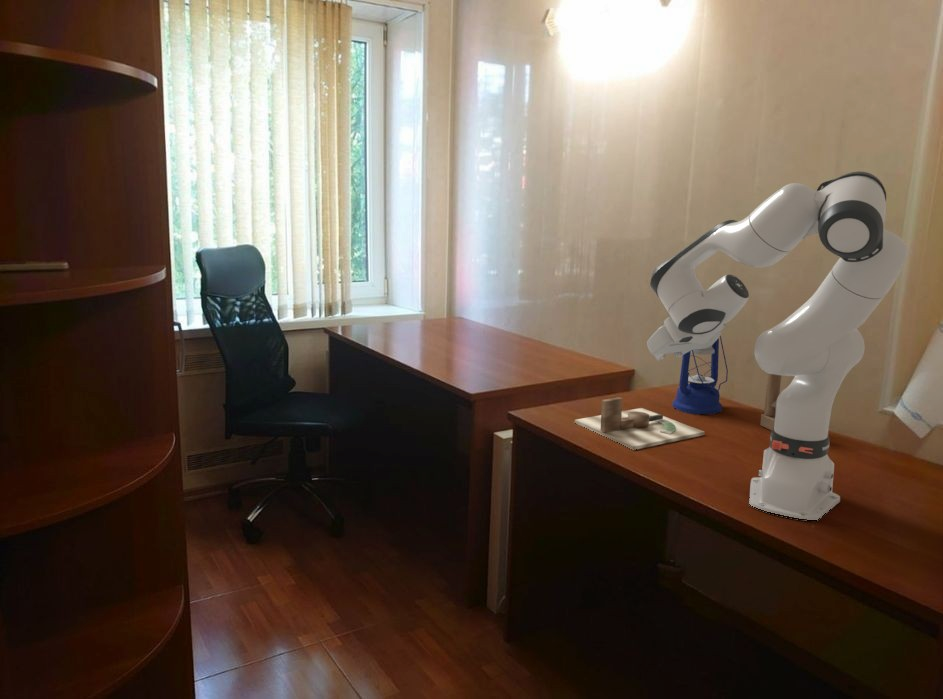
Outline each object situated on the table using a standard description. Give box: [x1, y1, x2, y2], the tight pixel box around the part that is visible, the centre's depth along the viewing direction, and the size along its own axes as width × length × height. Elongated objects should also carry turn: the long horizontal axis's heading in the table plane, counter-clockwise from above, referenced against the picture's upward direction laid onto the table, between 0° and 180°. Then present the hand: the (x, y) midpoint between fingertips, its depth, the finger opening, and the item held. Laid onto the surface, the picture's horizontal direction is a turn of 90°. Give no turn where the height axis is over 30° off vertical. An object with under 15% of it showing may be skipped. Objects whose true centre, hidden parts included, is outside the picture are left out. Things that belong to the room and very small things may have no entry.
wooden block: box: [760, 373, 782, 432], centre depth 203 cm, size 4×11×18 cm, turn 16°
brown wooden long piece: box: [600, 396, 664, 432], centre depth 204 cm, size 22×6×9 cm, turn 118°
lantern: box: [672, 334, 729, 415], centre depth 224 cm, size 17×15×30 cm
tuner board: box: [574, 407, 705, 451], centre depth 206 cm, size 26×26×1 cm
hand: (667, 356), depth 184 cm, fingers open, 5 cm apart
